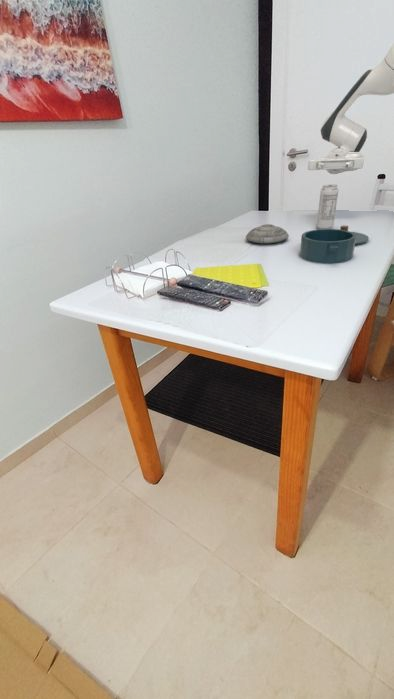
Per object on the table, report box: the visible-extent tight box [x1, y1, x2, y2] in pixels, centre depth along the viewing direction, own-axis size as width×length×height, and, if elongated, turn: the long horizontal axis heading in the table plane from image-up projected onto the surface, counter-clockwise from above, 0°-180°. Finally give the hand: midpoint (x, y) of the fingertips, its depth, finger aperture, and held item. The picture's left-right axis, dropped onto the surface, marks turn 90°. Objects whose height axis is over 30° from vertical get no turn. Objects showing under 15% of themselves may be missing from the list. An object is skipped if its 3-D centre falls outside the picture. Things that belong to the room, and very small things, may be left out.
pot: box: [299, 228, 356, 264], centre depth 100 cm, size 15×20×6 cm
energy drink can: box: [316, 183, 339, 230], centre depth 124 cm, size 6×6×15 cm
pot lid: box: [339, 224, 369, 245], centre depth 112 cm, size 16×16×5 cm
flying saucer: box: [245, 223, 290, 244], centre depth 119 cm, size 15×15×6 cm
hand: (334, 165), depth 126 cm, fingers open, 8 cm apart
